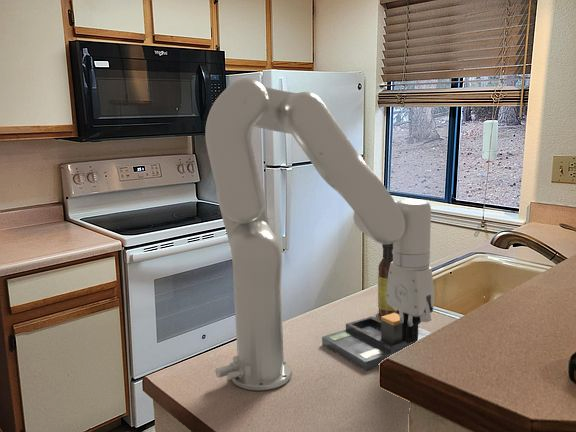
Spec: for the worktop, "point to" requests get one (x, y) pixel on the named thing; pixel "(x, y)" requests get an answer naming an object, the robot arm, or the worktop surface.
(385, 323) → the toggle
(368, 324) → the panel
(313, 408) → the worktop surface
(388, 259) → the sauce bottle
